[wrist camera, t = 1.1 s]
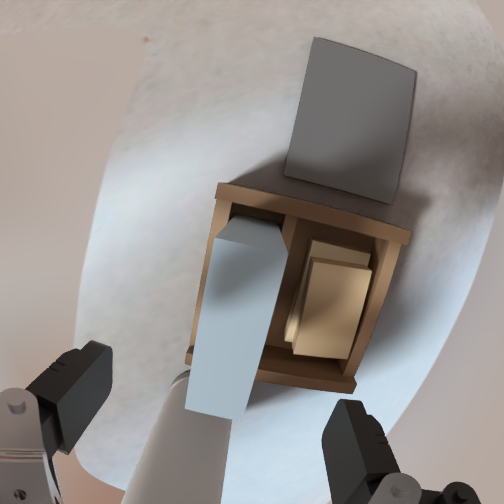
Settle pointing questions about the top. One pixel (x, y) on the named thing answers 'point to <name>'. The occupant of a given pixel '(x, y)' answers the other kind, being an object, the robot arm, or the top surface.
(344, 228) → the rack
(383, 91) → the mat
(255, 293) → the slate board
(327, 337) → the offcut upper
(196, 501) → the travel mug
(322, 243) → the offcut lower
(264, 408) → the top surface
